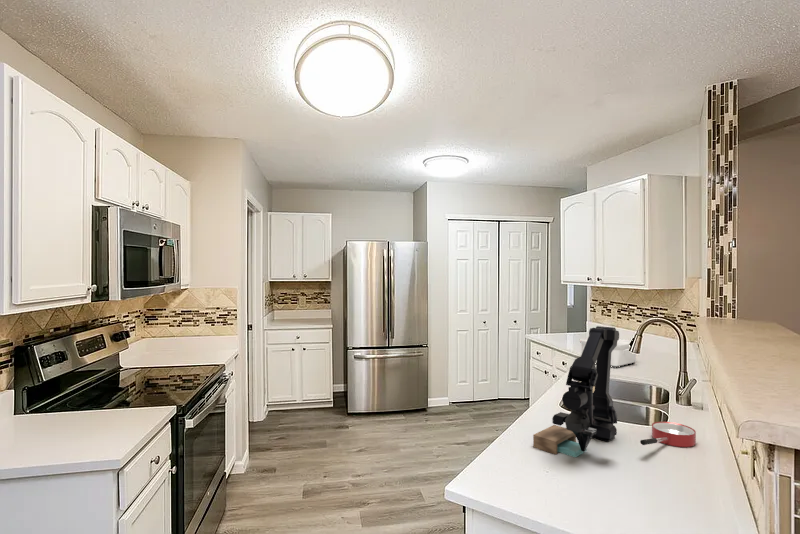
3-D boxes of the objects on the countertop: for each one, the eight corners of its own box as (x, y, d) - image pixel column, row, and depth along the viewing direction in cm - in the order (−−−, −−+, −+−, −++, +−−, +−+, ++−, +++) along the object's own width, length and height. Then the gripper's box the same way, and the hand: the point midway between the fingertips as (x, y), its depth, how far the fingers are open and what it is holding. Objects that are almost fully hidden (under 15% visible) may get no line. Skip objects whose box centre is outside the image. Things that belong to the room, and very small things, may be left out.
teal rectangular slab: (586, 451, 142) (586, 445, 142) (575, 458, 136) (575, 452, 136) (557, 442, 149) (557, 436, 149) (546, 449, 144) (546, 443, 144)
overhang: (575, 443, 148) (575, 430, 148) (555, 454, 138) (555, 441, 138) (554, 436, 154) (554, 424, 154) (533, 447, 144) (533, 434, 144)
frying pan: (676, 469, 128) (675, 448, 128) (628, 456, 137) (628, 436, 137) (699, 440, 150) (699, 422, 151) (657, 430, 160) (657, 413, 160)
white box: (646, 365, 273) (646, 342, 273) (622, 371, 257) (622, 346, 257) (595, 356, 301) (595, 335, 301) (571, 361, 285) (571, 339, 285)
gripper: (544, 401, 140) (544, 449, 140) (602, 415, 127) (602, 468, 126) (560, 395, 148) (560, 440, 148) (617, 407, 134) (617, 457, 134)
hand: (583, 451), depth 139 cm, fingers closed
